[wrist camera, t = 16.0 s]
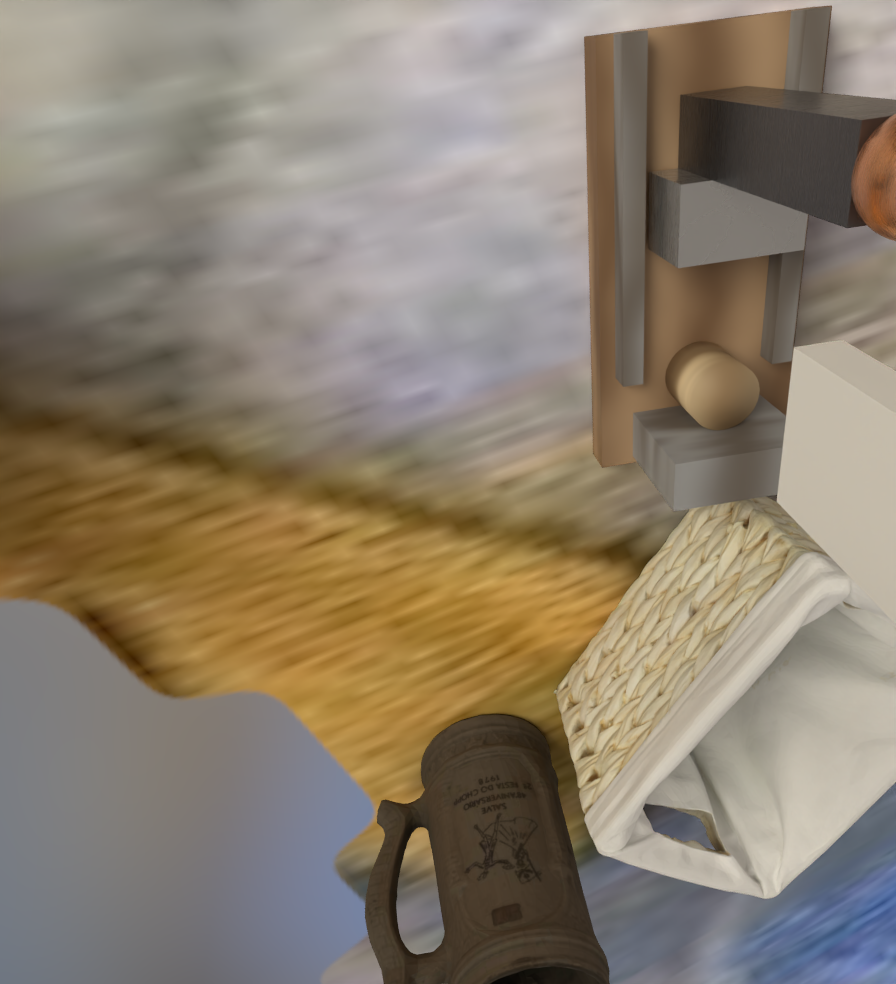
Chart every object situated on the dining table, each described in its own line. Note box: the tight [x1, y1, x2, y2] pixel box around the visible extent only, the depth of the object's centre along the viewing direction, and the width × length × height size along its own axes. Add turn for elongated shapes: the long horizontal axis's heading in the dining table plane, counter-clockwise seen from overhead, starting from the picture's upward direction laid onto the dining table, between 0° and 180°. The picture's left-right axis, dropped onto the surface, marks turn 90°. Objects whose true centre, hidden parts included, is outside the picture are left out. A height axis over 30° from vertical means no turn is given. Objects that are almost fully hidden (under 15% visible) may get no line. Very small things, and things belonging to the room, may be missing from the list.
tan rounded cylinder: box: [665, 341, 760, 430], centre depth 47 cm, size 4×4×4 cm
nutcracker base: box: [584, 6, 832, 512], centre depth 43 cm, size 12×24×9 cm, turn 6°
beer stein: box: [365, 714, 610, 984], centre depth 57 cm, size 15×11×20 cm
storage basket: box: [554, 497, 896, 899], centre depth 54 cm, size 24×16×15 cm
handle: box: [648, 86, 896, 268], centre depth 34 cm, size 7×8×19 cm
